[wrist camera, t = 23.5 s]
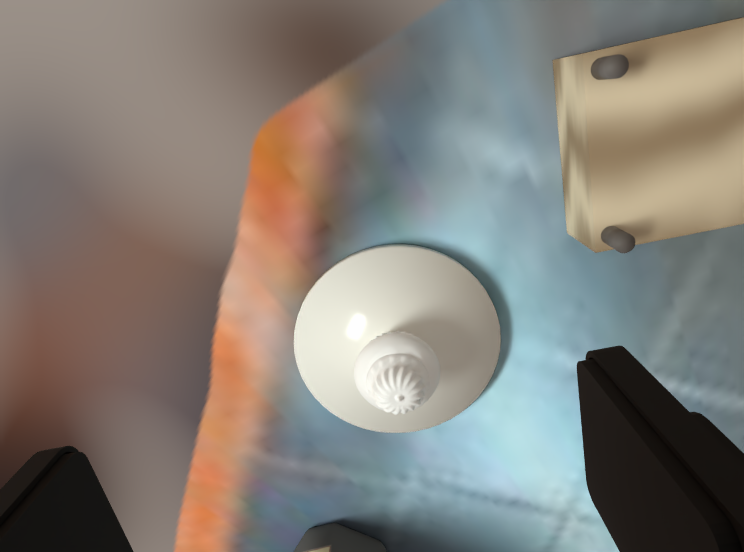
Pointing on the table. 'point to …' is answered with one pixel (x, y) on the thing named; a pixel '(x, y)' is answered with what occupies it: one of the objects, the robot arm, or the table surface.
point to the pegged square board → (653, 137)
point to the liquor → (337, 540)
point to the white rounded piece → (397, 372)
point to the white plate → (397, 313)
